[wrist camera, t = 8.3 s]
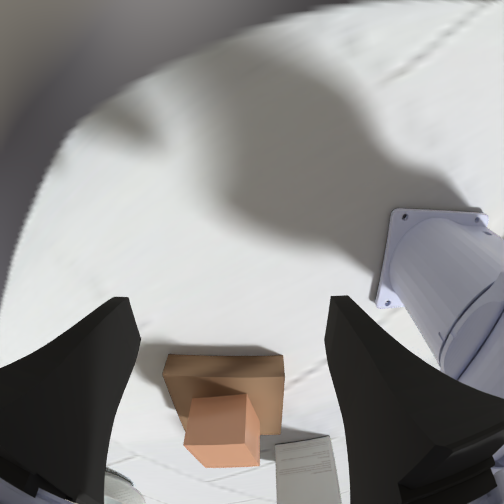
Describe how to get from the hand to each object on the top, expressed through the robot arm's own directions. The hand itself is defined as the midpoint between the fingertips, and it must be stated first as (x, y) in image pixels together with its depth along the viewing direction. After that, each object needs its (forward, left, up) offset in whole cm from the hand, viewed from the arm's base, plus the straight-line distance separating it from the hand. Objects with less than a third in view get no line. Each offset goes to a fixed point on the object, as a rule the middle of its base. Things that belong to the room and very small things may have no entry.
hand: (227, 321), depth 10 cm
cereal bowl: (+31, +56, -10) cm, 65 cm away
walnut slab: (+2, +17, -10) cm, 20 cm away
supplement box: (-7, +32, -10) cm, 34 cm away
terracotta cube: (+2, +17, -8) cm, 19 cm away
